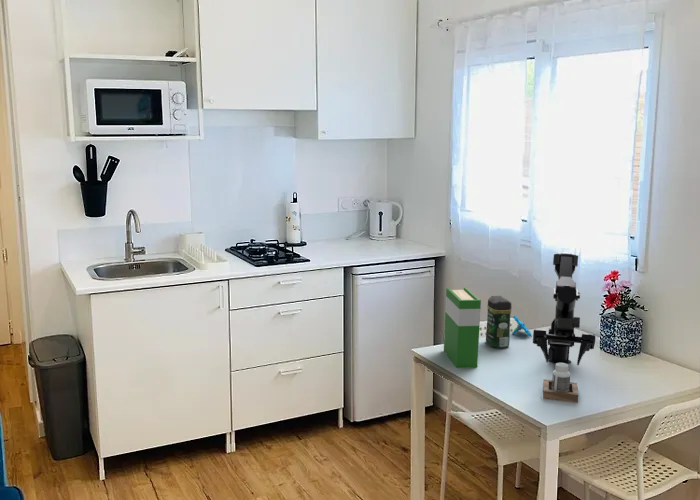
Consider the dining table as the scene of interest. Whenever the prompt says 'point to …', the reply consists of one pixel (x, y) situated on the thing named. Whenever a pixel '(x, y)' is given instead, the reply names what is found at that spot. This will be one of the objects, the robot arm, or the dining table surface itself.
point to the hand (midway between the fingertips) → (562, 363)
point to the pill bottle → (561, 377)
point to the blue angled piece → (520, 326)
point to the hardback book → (462, 327)
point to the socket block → (560, 392)
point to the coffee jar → (498, 322)
